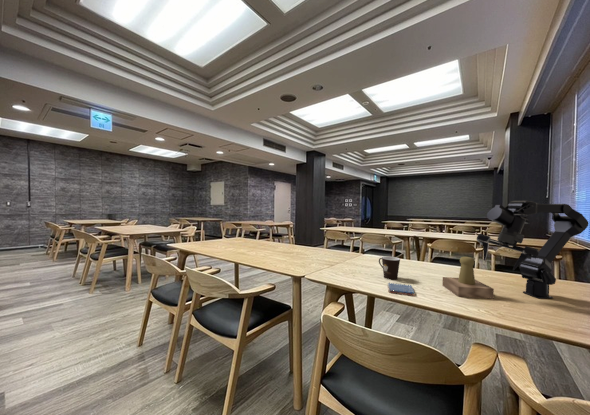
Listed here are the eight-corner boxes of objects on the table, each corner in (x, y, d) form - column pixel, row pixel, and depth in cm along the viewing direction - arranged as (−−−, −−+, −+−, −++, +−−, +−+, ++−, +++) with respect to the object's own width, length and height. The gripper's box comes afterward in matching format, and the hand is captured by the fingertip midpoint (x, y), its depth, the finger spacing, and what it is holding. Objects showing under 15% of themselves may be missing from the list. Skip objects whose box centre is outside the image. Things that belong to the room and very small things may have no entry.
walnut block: (473, 287, 106) (473, 278, 106) (493, 298, 94) (493, 288, 94) (442, 285, 108) (442, 277, 108) (458, 296, 95) (458, 286, 95)
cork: (473, 285, 96) (474, 259, 96) (456, 282, 101) (456, 256, 101) (476, 282, 100) (477, 257, 100) (460, 279, 105) (460, 254, 105)
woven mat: (412, 289, 105) (412, 284, 105) (415, 297, 95) (415, 292, 95) (387, 286, 108) (387, 281, 108) (388, 294, 98) (388, 289, 98)
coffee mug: (402, 280, 115) (403, 260, 115) (385, 280, 115) (385, 260, 115) (393, 273, 126) (393, 255, 126) (377, 273, 126) (377, 255, 126)
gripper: (482, 217, 96) (468, 252, 96) (546, 232, 83) (531, 273, 82) (484, 224, 104) (471, 257, 104) (543, 239, 91) (529, 276, 90)
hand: (498, 265), depth 95 cm, fingers open, 9 cm apart
